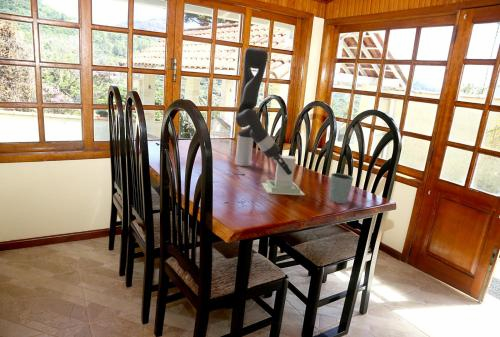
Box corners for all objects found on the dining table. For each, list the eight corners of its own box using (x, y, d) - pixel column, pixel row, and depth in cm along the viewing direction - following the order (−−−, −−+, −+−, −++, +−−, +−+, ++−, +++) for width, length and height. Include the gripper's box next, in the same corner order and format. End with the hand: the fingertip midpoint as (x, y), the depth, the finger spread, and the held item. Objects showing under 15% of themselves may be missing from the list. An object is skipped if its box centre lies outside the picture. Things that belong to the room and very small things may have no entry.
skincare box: (290, 185, 174) (294, 156, 170) (291, 189, 168) (296, 158, 164) (273, 183, 173) (277, 154, 170) (274, 187, 167) (279, 156, 164)
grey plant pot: (338, 205, 158) (343, 179, 155) (322, 197, 166) (326, 173, 163) (352, 202, 164) (357, 178, 161) (336, 195, 172) (340, 172, 169)
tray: (261, 184, 176) (262, 179, 175) (295, 186, 179) (296, 181, 179) (267, 193, 163) (268, 188, 162) (304, 195, 166) (305, 190, 165)
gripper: (277, 143, 157) (298, 171, 162) (270, 137, 170) (290, 163, 176) (264, 154, 157) (286, 181, 162) (258, 147, 171) (278, 172, 176)
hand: (288, 171), depth 169 cm, fingers closed on skincare box, 6 cm apart
